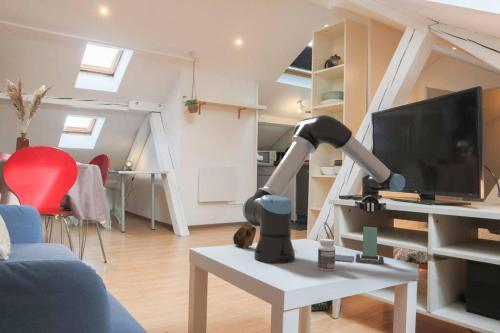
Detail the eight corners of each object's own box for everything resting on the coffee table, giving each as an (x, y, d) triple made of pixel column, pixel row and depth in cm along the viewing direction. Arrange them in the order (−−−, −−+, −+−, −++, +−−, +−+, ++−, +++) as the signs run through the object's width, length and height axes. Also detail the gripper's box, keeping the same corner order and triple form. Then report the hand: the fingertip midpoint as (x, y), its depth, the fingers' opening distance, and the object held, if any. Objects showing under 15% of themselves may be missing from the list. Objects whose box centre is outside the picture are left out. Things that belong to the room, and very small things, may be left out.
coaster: (325, 259, 142) (325, 258, 142) (327, 254, 151) (327, 253, 151) (352, 262, 139) (352, 261, 139) (353, 257, 148) (353, 256, 148)
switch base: (355, 262, 139) (355, 255, 139) (355, 259, 143) (355, 253, 143) (383, 264, 136) (384, 257, 136) (383, 262, 140) (383, 255, 140)
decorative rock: (257, 248, 160) (257, 223, 160) (245, 250, 156) (246, 224, 157) (241, 244, 170) (242, 220, 170) (230, 245, 166) (231, 220, 167)
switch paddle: (361, 258, 140) (361, 227, 140) (361, 257, 141) (361, 226, 142) (378, 259, 138) (378, 228, 139) (377, 259, 140) (378, 227, 140)
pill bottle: (319, 266, 131) (320, 237, 131) (336, 268, 128) (337, 239, 129) (316, 269, 125) (316, 240, 126) (333, 272, 123) (333, 241, 123)
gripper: (386, 213, 165) (389, 218, 142) (353, 211, 169) (351, 216, 147) (387, 196, 165) (390, 198, 143) (354, 195, 169) (352, 197, 147)
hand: (370, 207), depth 145 cm, fingers closed
